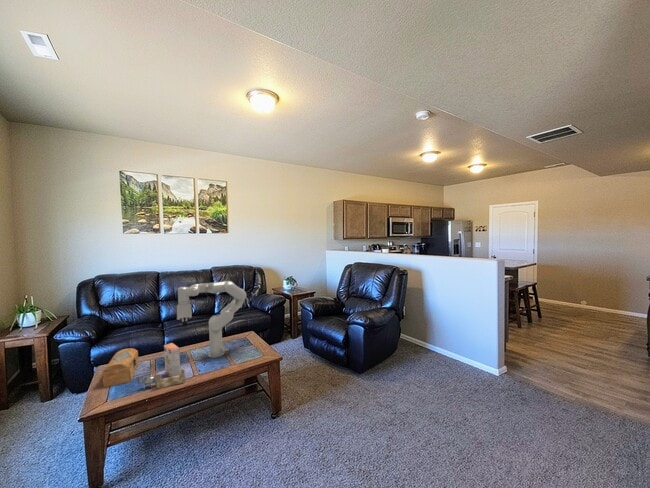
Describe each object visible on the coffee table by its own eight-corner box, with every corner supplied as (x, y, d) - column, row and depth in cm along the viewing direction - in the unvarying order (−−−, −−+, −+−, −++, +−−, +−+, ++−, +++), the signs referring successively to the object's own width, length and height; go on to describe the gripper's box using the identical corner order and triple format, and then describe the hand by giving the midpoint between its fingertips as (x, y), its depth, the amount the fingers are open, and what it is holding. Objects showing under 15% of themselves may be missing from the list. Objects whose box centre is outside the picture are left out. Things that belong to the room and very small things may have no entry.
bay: (185, 375, 192) (184, 363, 192) (184, 382, 184) (184, 369, 183) (159, 381, 186) (158, 368, 185) (157, 388, 177) (156, 375, 177)
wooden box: (132, 382, 187) (131, 361, 186) (102, 388, 180) (100, 367, 179) (141, 363, 214) (140, 345, 213) (114, 368, 207) (113, 350, 207)
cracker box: (164, 374, 196) (163, 344, 195) (174, 370, 200) (172, 342, 200) (171, 380, 186) (170, 350, 186) (181, 377, 191) (179, 347, 190)
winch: (158, 383, 183) (157, 371, 183) (157, 386, 179) (156, 374, 179) (138, 388, 178) (138, 375, 178) (137, 391, 174) (136, 378, 174)
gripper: (194, 300, 222) (195, 323, 223) (173, 303, 216) (174, 326, 216) (194, 302, 215) (195, 326, 216) (172, 305, 209) (173, 329, 209)
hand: (184, 326), depth 216 cm, fingers closed
